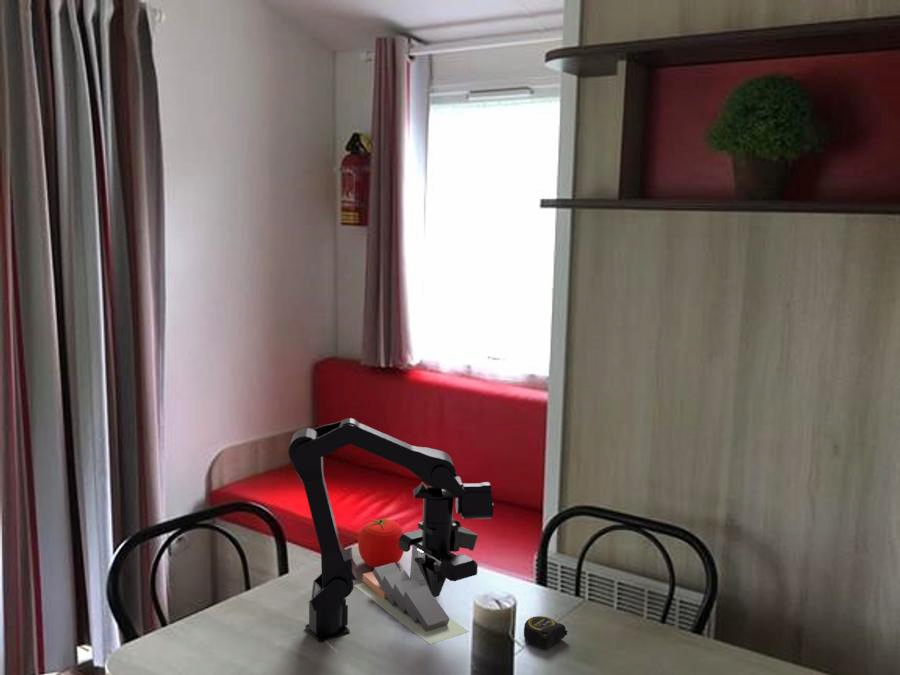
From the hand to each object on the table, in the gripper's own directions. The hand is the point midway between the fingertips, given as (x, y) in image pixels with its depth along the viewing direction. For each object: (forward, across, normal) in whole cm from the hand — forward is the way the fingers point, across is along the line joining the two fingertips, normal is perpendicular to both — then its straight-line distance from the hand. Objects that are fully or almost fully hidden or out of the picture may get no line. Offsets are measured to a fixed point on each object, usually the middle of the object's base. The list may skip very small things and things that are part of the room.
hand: (435, 596), depth 155 cm
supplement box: (+7, +16, -8) cm, 19 cm away
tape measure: (+7, -16, -15) cm, 23 cm away
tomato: (+7, +30, -6) cm, 31 cm away
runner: (+6, +10, 0) cm, 12 cm away
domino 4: (+6, +3, 0) cm, 6 cm away
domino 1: (+6, +15, 0) cm, 16 cm away
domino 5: (+6, -1, 0) cm, 6 cm away
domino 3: (+6, +7, 0) cm, 9 cm away
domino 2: (+6, +11, 0) cm, 13 cm away
